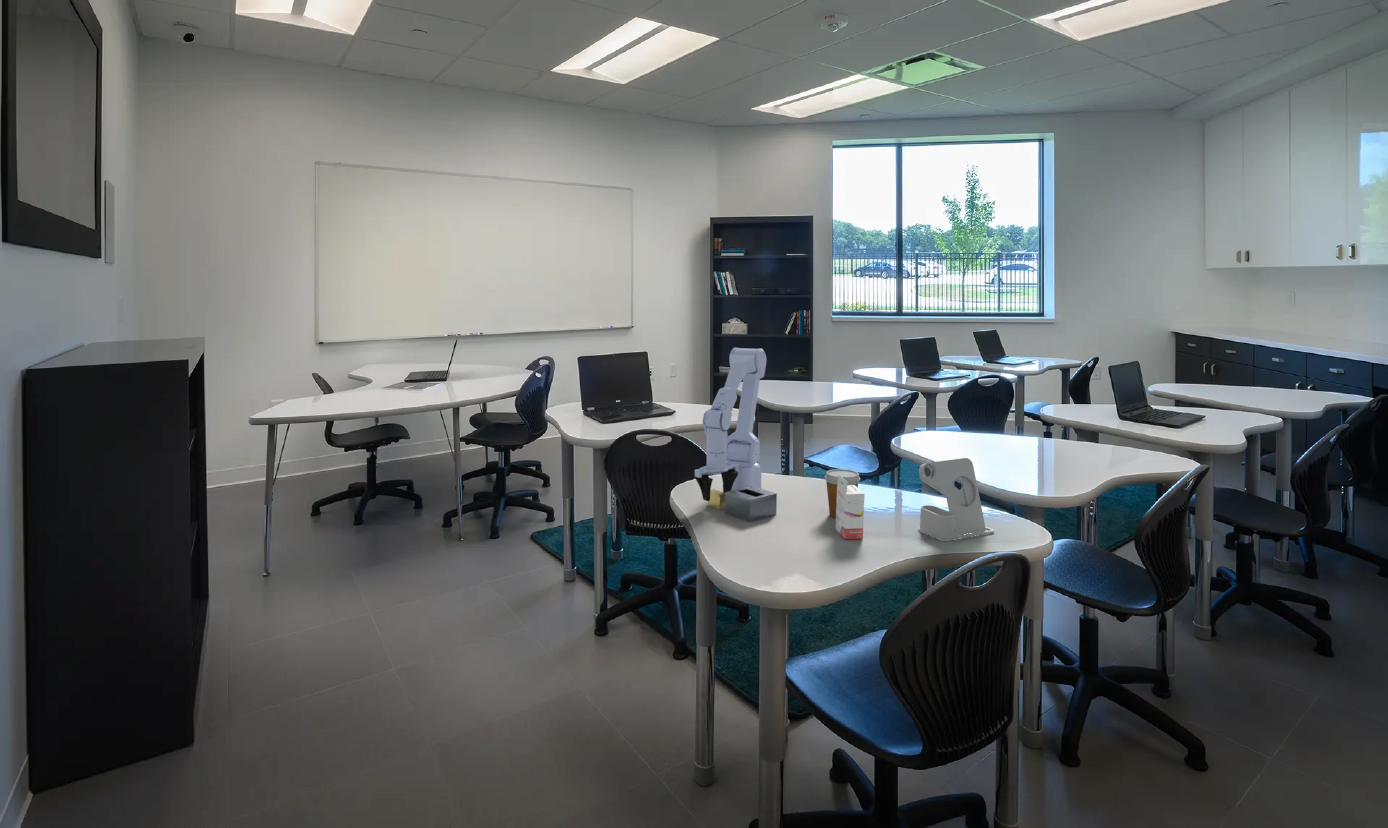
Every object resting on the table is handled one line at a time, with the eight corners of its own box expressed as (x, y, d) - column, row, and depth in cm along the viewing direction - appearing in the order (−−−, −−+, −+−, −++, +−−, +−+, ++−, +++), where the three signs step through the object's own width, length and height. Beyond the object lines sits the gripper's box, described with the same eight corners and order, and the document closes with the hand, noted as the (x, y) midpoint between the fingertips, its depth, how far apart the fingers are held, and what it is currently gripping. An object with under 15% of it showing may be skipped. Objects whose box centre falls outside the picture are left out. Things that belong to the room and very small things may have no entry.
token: (713, 504, 207) (713, 489, 206) (725, 508, 203) (725, 492, 202) (708, 505, 206) (708, 490, 205) (719, 509, 202) (719, 494, 201)
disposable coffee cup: (860, 512, 198) (862, 470, 196) (856, 522, 190) (858, 478, 187) (826, 508, 201) (827, 467, 199) (821, 519, 193) (822, 476, 191)
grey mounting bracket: (941, 542, 174) (945, 471, 171) (914, 530, 183) (917, 462, 180) (995, 533, 181) (1000, 464, 178) (966, 521, 190) (970, 455, 187)
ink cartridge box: (864, 539, 177) (866, 482, 174) (844, 540, 177) (846, 482, 174) (853, 528, 185) (855, 473, 183) (834, 528, 185) (836, 473, 182)
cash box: (751, 506, 205) (751, 485, 204) (776, 514, 197) (776, 493, 196) (725, 512, 198) (725, 492, 197) (749, 521, 191) (749, 500, 190)
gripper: (705, 457, 194) (706, 505, 196) (745, 450, 203) (744, 496, 205) (689, 453, 199) (690, 500, 202) (728, 446, 208) (728, 491, 211)
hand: (716, 497), depth 204 cm, fingers open, 7 cm apart
